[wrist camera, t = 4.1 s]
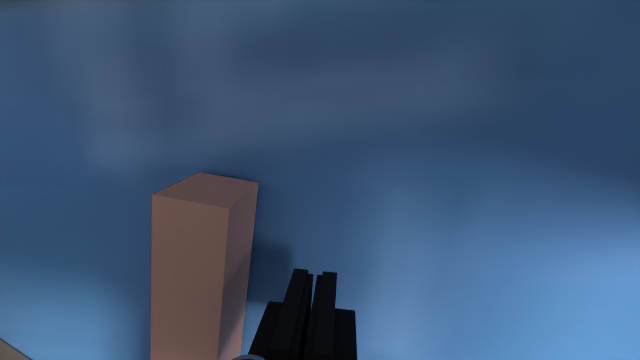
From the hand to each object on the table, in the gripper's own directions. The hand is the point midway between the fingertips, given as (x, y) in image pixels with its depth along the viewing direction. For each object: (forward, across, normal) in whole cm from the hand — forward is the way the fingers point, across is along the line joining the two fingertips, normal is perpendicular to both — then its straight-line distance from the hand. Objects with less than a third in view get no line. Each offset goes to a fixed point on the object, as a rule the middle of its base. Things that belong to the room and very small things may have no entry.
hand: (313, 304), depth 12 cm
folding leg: (+1, +4, +4) cm, 6 cm away
